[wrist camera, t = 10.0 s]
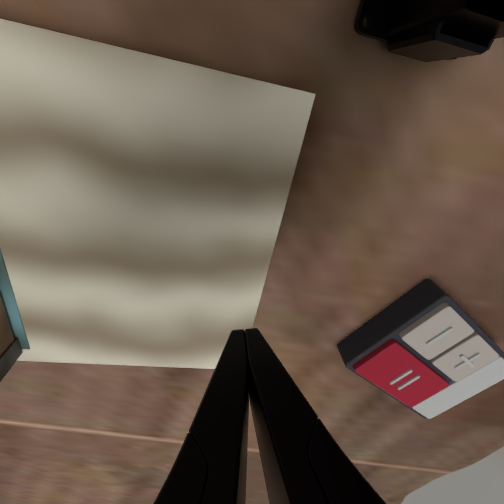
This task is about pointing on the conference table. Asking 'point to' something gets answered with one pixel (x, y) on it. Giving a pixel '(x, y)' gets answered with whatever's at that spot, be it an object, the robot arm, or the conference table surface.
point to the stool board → (136, 199)
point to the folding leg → (7, 344)
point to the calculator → (424, 352)
